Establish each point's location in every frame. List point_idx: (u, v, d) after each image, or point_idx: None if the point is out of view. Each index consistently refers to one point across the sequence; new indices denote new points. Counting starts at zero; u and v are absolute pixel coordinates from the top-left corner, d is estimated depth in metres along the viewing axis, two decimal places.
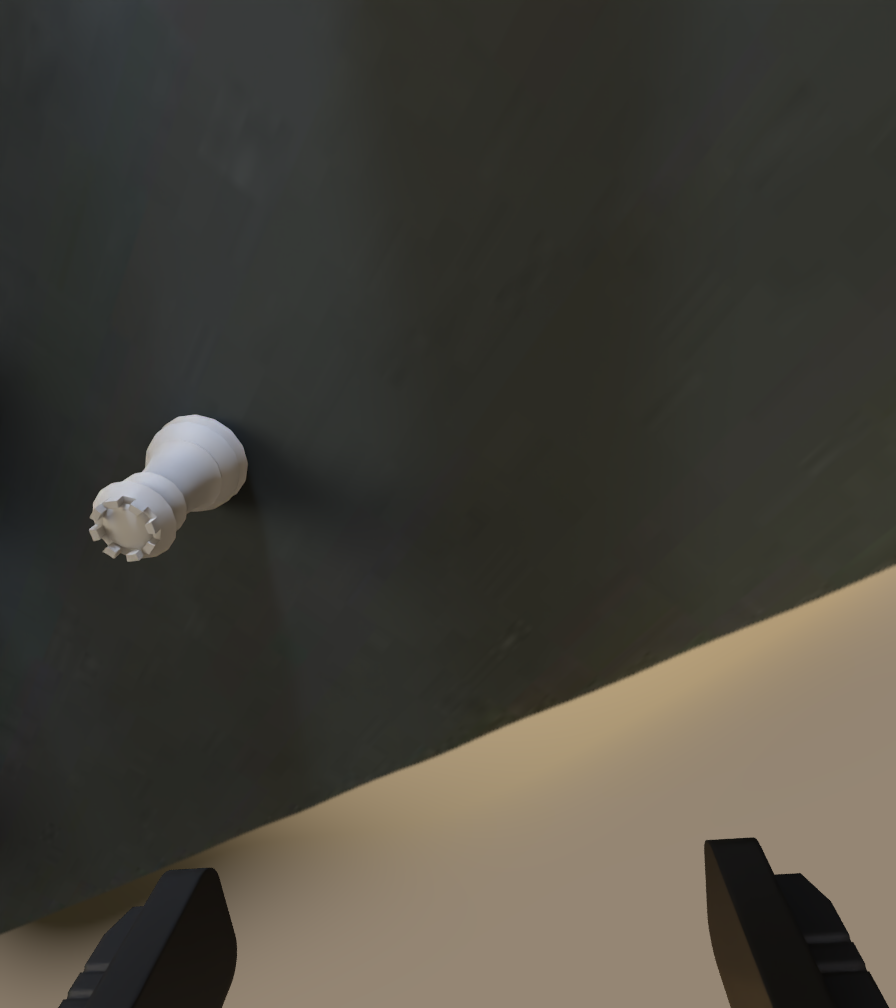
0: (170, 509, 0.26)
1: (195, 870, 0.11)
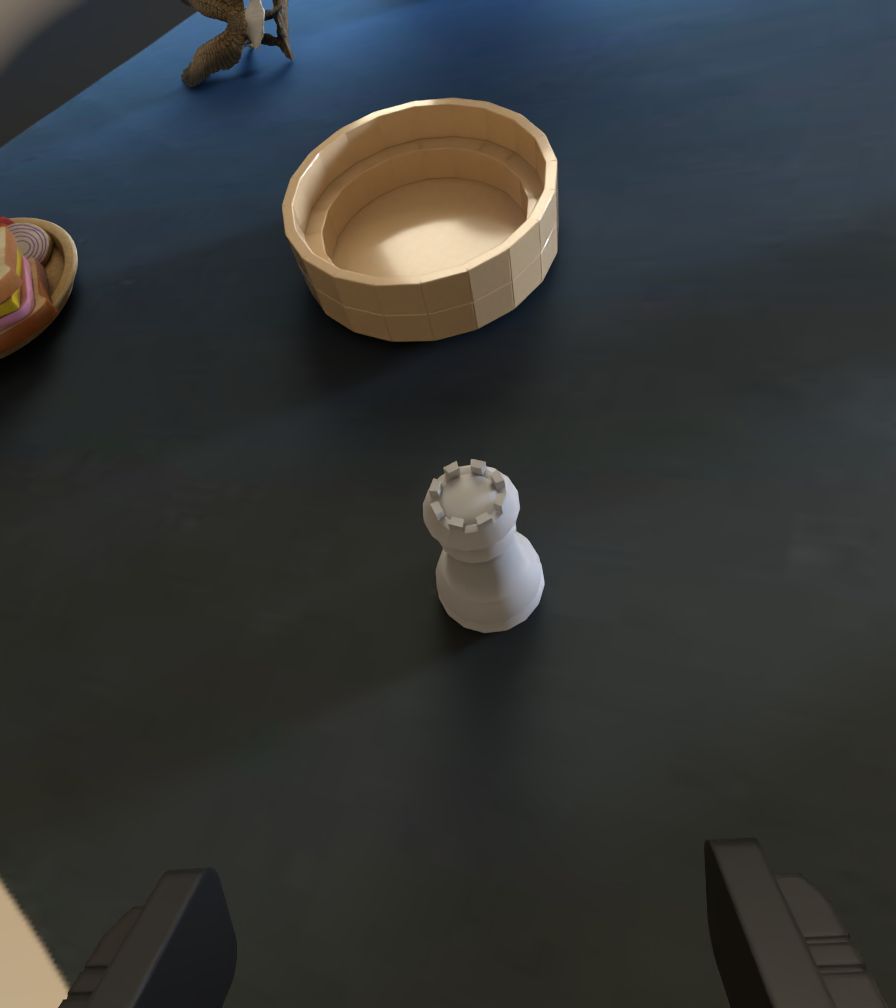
0: (501, 538, 0.23)
1: (195, 870, 0.11)
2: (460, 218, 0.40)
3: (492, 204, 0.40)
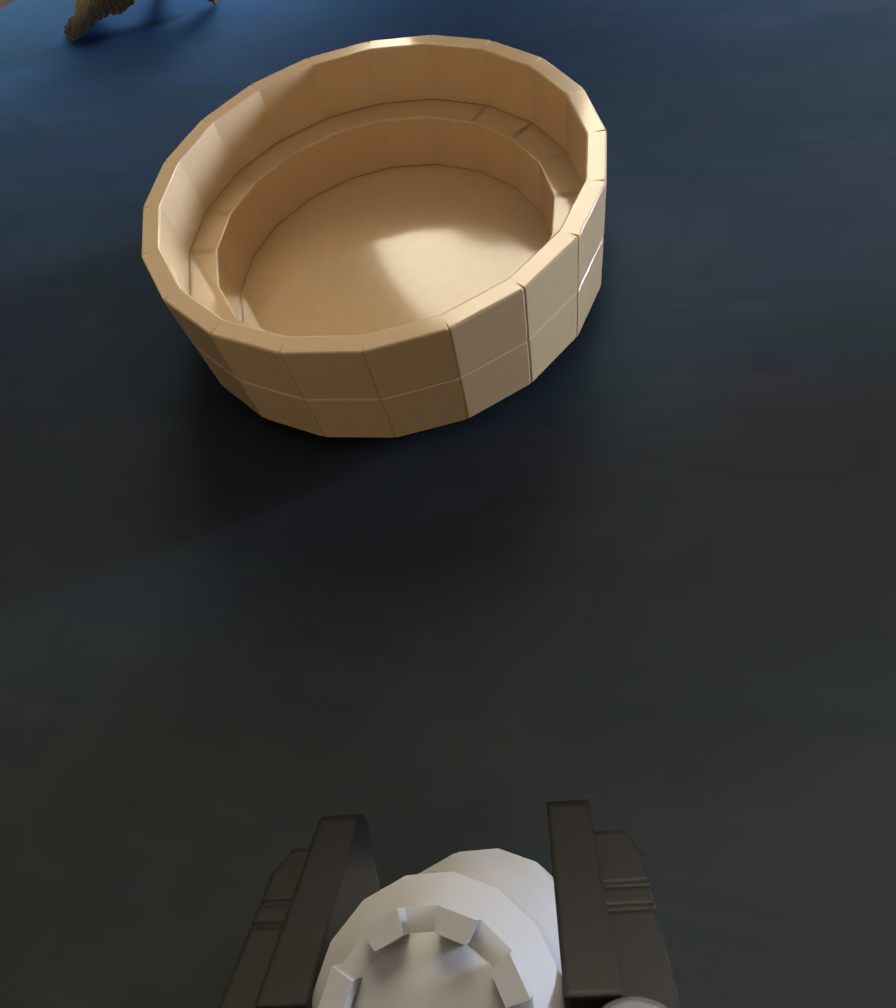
0: None
1: (349, 816, 0.12)
2: (443, 228, 0.25)
3: (494, 206, 0.25)
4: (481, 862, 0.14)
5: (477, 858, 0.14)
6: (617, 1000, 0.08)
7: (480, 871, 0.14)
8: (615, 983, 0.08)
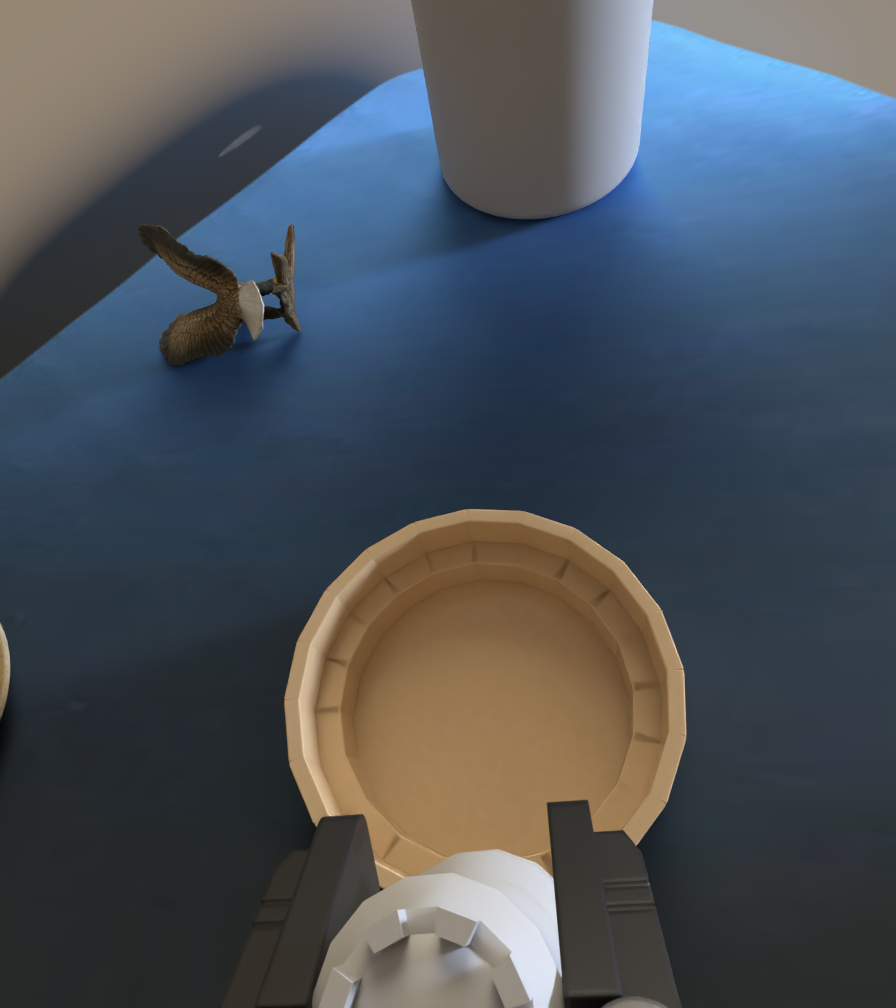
0: None
1: (349, 816, 0.12)
2: (529, 664, 0.29)
3: (573, 642, 0.29)
4: (481, 863, 0.14)
5: (477, 859, 0.14)
6: (617, 1000, 0.08)
7: (480, 872, 0.14)
8: (615, 983, 0.08)
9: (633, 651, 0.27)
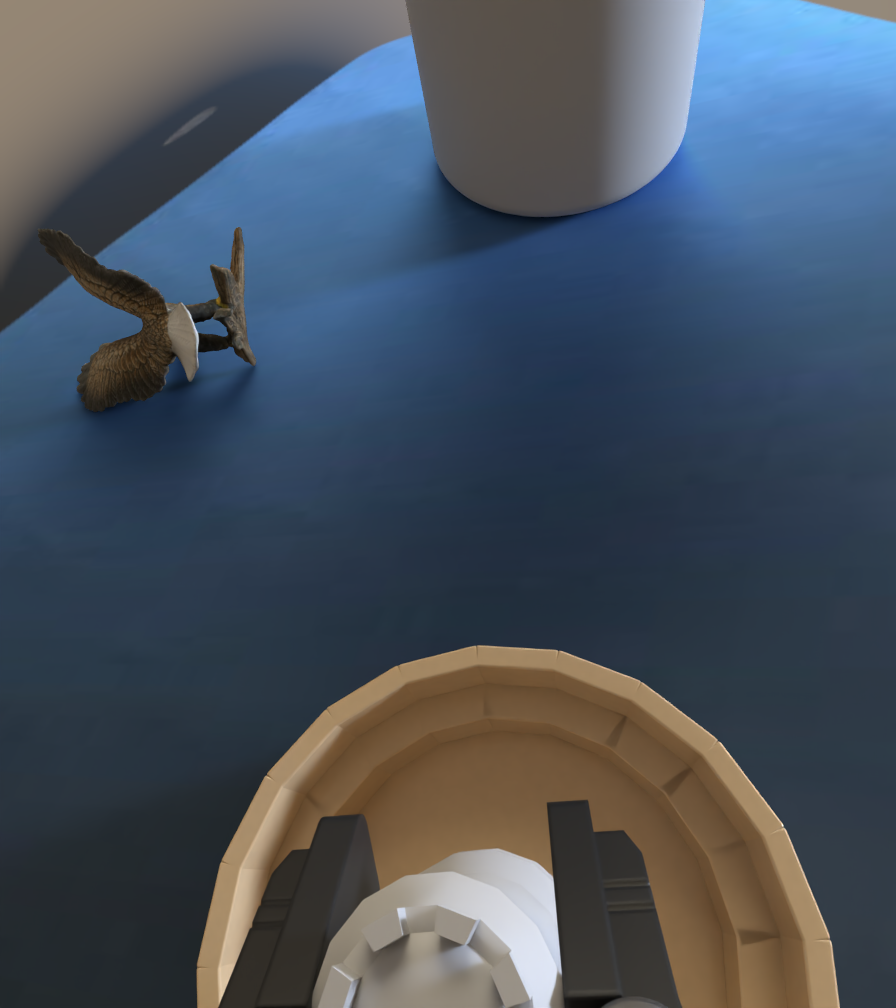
0: None
1: (350, 816, 0.12)
2: None
3: (633, 834, 0.20)
4: (481, 862, 0.14)
5: (477, 858, 0.14)
6: (617, 1000, 0.08)
7: (480, 871, 0.14)
8: (615, 983, 0.08)
9: (733, 874, 0.17)
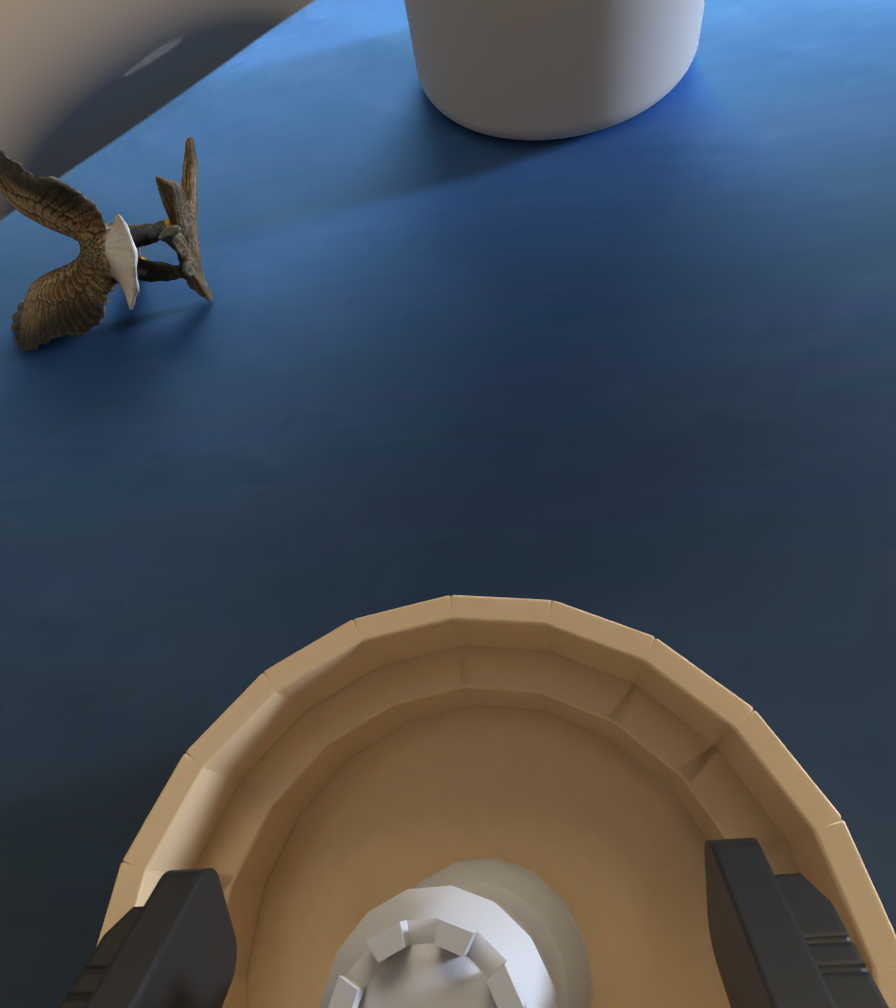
0: None
1: (195, 870, 0.11)
2: (564, 872, 0.16)
3: (642, 830, 0.16)
4: (479, 872, 0.15)
5: (475, 868, 0.15)
6: None
7: (478, 881, 0.14)
8: None
9: None
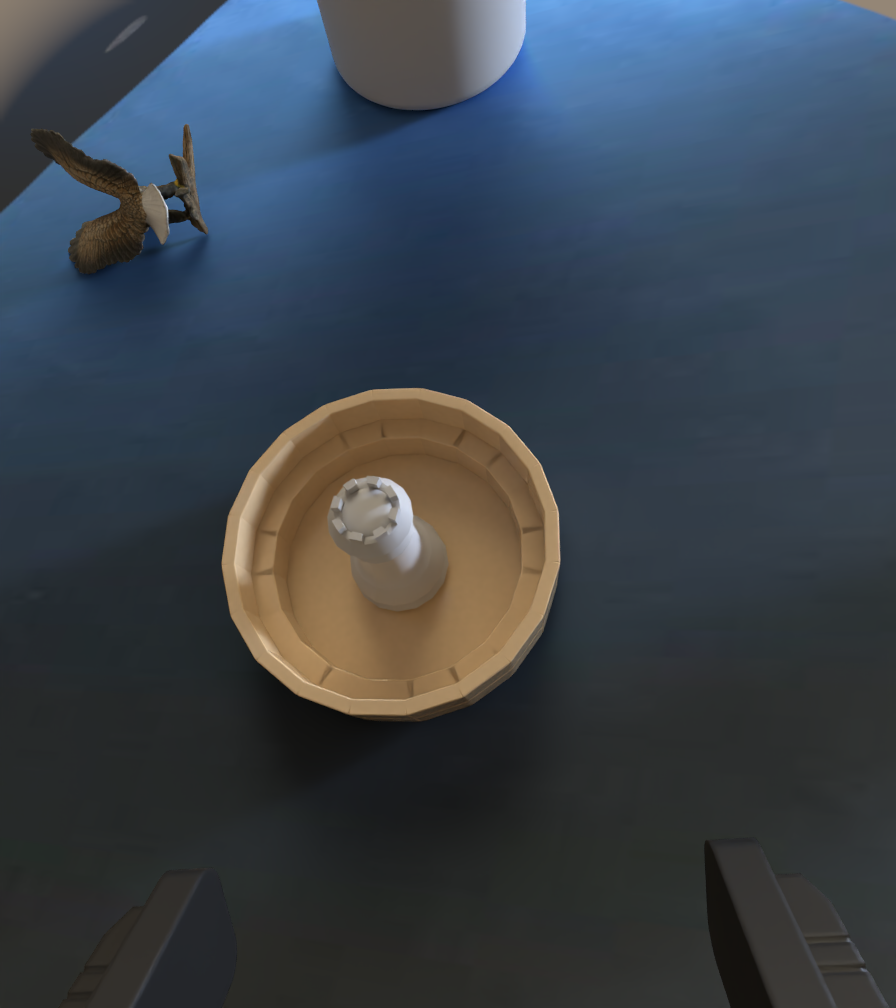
0: (397, 545, 0.26)
1: (195, 870, 0.11)
2: (437, 523, 0.33)
3: (473, 501, 0.33)
4: None
5: None
6: None
7: None
8: None
9: (521, 502, 0.31)
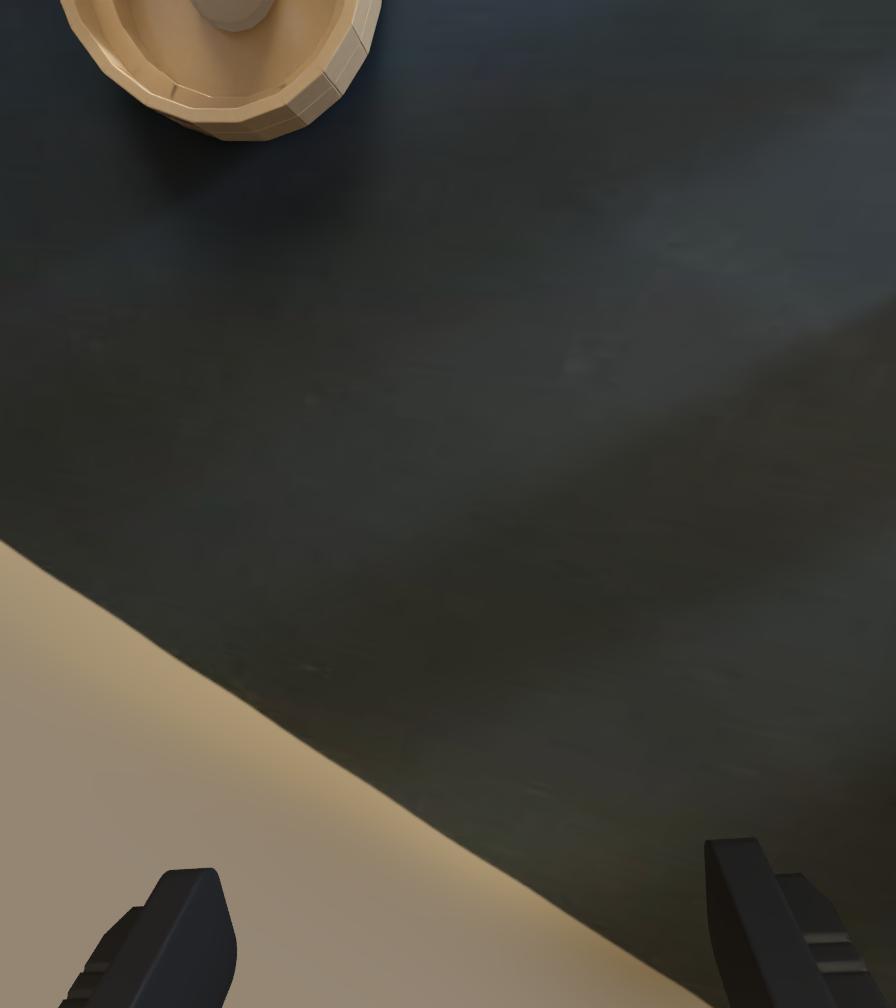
0: None
1: (195, 870, 0.11)
2: None
3: None
4: None
5: None
6: None
7: None
8: None
9: None
